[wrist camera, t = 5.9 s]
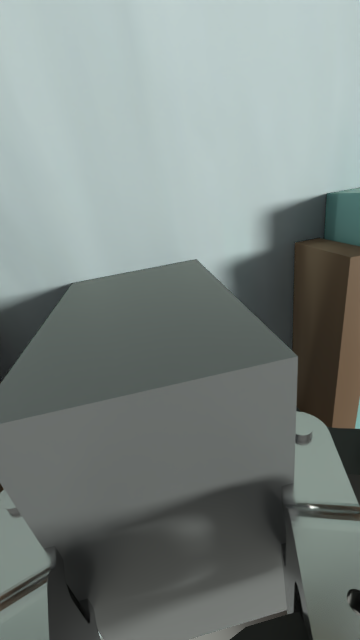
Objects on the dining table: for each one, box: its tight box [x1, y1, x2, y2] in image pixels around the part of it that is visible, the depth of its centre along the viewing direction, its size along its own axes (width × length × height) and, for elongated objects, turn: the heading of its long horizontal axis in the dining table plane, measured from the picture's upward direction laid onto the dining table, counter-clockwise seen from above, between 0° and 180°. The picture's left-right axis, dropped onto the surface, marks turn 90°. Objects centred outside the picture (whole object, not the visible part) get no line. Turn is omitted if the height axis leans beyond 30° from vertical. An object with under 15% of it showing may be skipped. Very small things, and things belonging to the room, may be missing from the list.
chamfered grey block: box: [0, 259, 298, 640], centre depth 9 cm, size 5×8×7 cm, turn 9°
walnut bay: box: [0, 238, 360, 493], centre depth 11 cm, size 14×10×3 cm
